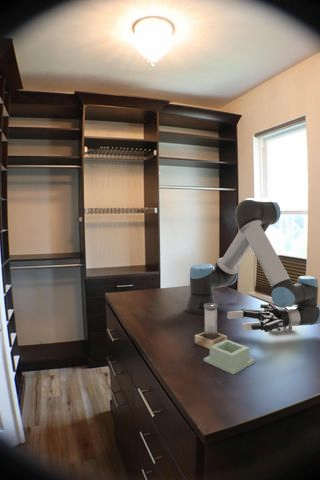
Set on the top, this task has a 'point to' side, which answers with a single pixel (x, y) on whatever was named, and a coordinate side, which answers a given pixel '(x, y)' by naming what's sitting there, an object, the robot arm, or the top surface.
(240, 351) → the socket
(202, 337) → the mount
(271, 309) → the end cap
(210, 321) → the silver capped cylinder
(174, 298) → the top surface
